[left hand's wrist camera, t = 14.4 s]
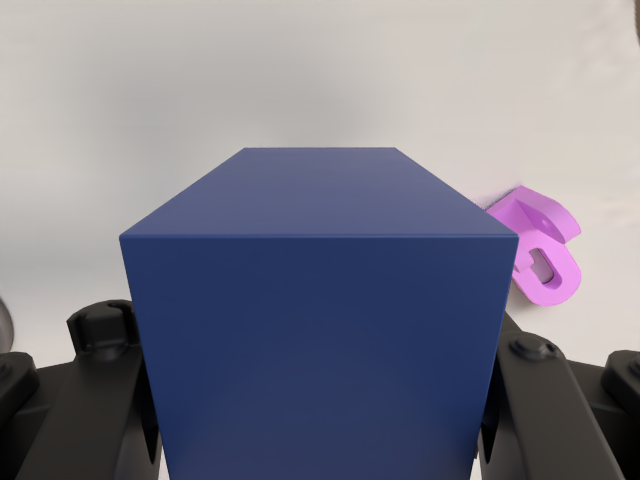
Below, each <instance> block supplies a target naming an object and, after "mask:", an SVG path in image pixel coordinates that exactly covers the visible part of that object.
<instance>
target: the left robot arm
mask: <svg viewBox="0 0 640 480" xmlns="http://www.w3.org/2000/svg"><path fill="white" fill-rule="evenodd" d="M66 322H67V325H68V329H69V332H70V335H71V339H72V342H73V346H74V349H75V352H76V356H75V358H74V360H73V361H72V362H68V363H64V364H59V365H54V366H49V367H44V368H39V369H36V367H35V364H34V361H33V358H32V357H31V356H30V355H29V354H27V353H23V352H9V350H10V348H11V345H12V340H13V329H12V324H11V320H10V317H9V314H8V312H7V310H6V308H5V306H4V304H3V303H2V301H1V300H0V480H158V476H159V468H160V460H161V451H162V440H161V435H160V431H159V426H158V421H157V417H156V412H155V407H154V402H153V398H152V393H151V388H150V383H149V379H148V374H147V369H146V364H145V360H144V355H143V350H142V345H141V341H140V336H139V331H138V326H137V322H136V317H135V312H134V307H133V303H132V301H128V300H123V299H122V300H108V301H103V302H98V303H95V304H92V305H90V306H87V307H84V308H82V309H81V310H79V311H77V312H76V313H74V314H73V315H72V316H71V317H70V318H69V319H68V320H67V321H66ZM8 352H9V353H8ZM478 451H479V459H480V467H481V475H482V480H640V352H637V351H630V350H620V351H614V352H613V353H611V354H610V355H609V356H608V359H607V362H606V365H605V367H600V366H595V365H590V364H585V363H580V362H575V361H571V360H567V359H566V358H565V356H564V354H563V353H562V351H561V350H560V349H559V348H558V347H557V346H556V345H555V344H553V343H552V342H550V341H549V340H547V339H545V338H543V337H540V336H538V335H536V334H532V333H528V332H524V331H522V330H521V329H520V328H519V327H518V325H517V324H516V323H515V322H514V321H513V320H512V318H511V317H510V316H509V315H508V314H507V313H506V311H505V312H504V316H503V321H502V326H501V331H500V336H499V341H498V345H497V350H496V355H495V360H494V365H493V370H492V374H491V379H490V384H489V389H488V394H487V399H486V403H485V408H484V413H483V418H482V423H481V428H480V432H479V437H478V442H477V447H476V452H475V457H474V459H477V454H478Z"/></svg>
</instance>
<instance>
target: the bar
mask: <svg viewBox="0 0 640 480" xmlns="http://www.w3.org/2000/svg"><path fill="white" fill-rule="evenodd" d="M519 239H520V237H519V235H518V234H517V233H516V232H514V231H513V230H511V229H510V228H509V227H507V226H506V225H504V224H503V223H501V222H500V221H499V220H497V219H496V218H494V217H493V216H491V215H490V214H489V213H487V212H486V211H484V210H483V209H482V208H480V207H479V206H477V205H476V204H474V203H473V202H472V201H470V200H469V199H467V198H466V197H464V196H463V195H462V194H460V193H459V192H457V191H456V190H455V189H453V188H452V187H450V186H449V185H447V184H446V183H445V182H443V181H442V180H440V179H439V178H437V177H436V176H435V175H433V174H432V173H430V172H429V171H428V170H426V169H425V168H423V167H422V166H420V165H419V164H418V163H416V162H415V161H413V160H412V159H410V158H409V157H408V156H406V155H405V154H403V153H402V152H400V151H399V150H398V149H396V148H243V149H242V150H241V151H239V152H238V153H236V154H235V155H234V156H232V157H231V158H229V159H228V160H226V161H225V162H224V163H222V164H221V165H219V166H218V167H216V168H215V169H214V170H212V171H211V172H209V173H208V174H206V175H205V176H204V177H202V178H201V179H199V180H198V181H196V182H195V183H194V184H192V185H191V186H189V187H188V188H186V189H185V190H184V191H182V192H181V193H179V194H178V195H176V196H175V197H174V198H172V199H171V200H169V201H168V202H166V203H165V204H164V205H162V206H161V207H159V208H158V209H156V210H155V211H154V212H152V213H151V214H149V215H148V216H146V217H145V218H144V219H142V220H141V221H139V222H138V223H136V224H135V225H134V226H132V227H131V228H129V229H128V230H127V231H125V232H124V233H122V234H121V235H120V236H119V241H120V246H121V251H122V255H123V260H124V265H125V269H126V274H127V279H128V284H129V288H130V293H131V298H132V303H133V307H134V312H135V317H136V322H137V326H138V331H139V336H140V341H141V345H142V350H143V355H144V360H145V364H146V369H147V374H148V379H149V383H150V388H151V393H152V398H153V402H154V407H155V412H156V417H157V421H158V426H159V431H160V435H161V440H162V445H163V450H164V454H165V459H166V464H167V469H168V473H169V478H170V480H470V476H471V471H472V466H473V461H474V457H475V452H476V447H477V442H478V437H479V432H480V428H481V423H482V418H483V413H484V408H485V403H486V399H487V394H488V389H489V384H490V379H491V374H492V370H493V365H494V360H495V355H496V350H497V345H498V341H499V336H500V331H501V326H502V321H503V316H504V312H505V307H506V302H507V297H508V292H509V287H510V283H511V278H512V273H513V268H514V263H515V258H516V254H517V249H518V244H519Z"/></svg>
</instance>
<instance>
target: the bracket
mask: <svg viewBox="0 0 640 480" xmlns="http://www.w3.org/2000/svg"><path fill="white" fill-rule="evenodd" d="M486 212H487V213H489V214H490V215H491V216H493V217H494V218H496V219H497V220H499V221H500V222H501V223H503V224H504V225H506V226H507V227H509V228H510V229H511V230H513V231H514V232H516V233H517V234H518V235H519V237H520V239H519V244H518V249H517V254H516V258H515V263H514V268H513V273H512V279H513V281H514V282H515V283H516V285H517V286H518V287H519V289H520V290H521V292H522V293H523V294H524V295H525V296H526V297H527V298H528V299H529V300H530V301H532V302H533V303H535V304H537V305H540V306H554V305H557V304H560V303H562V302H564V301H566V300H567V299H569V298H570V297H571V296H572V295H573V294H574V293H575V292H576V290H577V289H578V287H579V285H580V282H581V271H580V268H579V266H578V265H577V263H576V262H575V260H574V259H573V257H572V255H571V254H570V252H569V251H568V249H567V248H566V246H565V243H566V242H568V241H569V240H571V239H572V238H574V237H576V236H577V235H579V234H580V233H581V229H580V226H579V224H578V223H577V221H576V220H575V218H574V217H573V216H572V215H571V214H570V213H569V212H568V211H567V210H566V209H565V208H564V207H563V206H562V205H561V204H559V203H558V202H556V201H555V200H553V199H550V198H548V197H546V196H544V195H542V194H539V193H537V192H535V191H533V190H530V189H528V188H526V187H524V186H520V187H518V188H517V189H515V190H514V191H513V192H511V193H510V194H508V195H507V196H506V197H504V198H503V199H501V200H500V201H498V202H497V203H496V204H494V205H493V206H491V207H490V208H489V209H487V210H486ZM534 248H538V249H539V251H540V252H541V254H542V255H543V257H544V258H545V260H546V261H547V263H548V264H549V266H550V267H551V269H552V270H553V272H554V277H553V279H552V280H551V281H550V282H549V283H546V284H542V283H541V282H540V280H539V279H538V277H537V276H536V275H535V273H534V272H533V270H532V269H531V267H530V266H531V265H533V264H534V260H533V258H532V256H531V255H530V253H529V251H530V250H532V249H534Z"/></svg>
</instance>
